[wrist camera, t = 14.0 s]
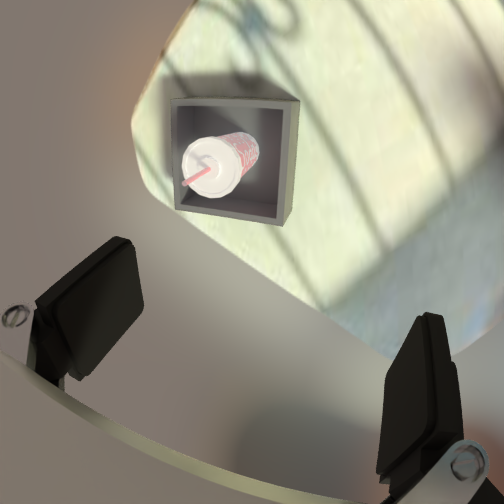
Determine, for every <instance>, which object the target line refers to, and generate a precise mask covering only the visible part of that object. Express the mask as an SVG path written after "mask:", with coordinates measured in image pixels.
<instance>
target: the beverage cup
mask: <svg viewBox="0 0 504 504" xmlns="http://www.w3.org/2000/svg"><path fill="white" fill-rule="evenodd" d="M258 156H259V146H258V143H257V142H256V140H255V138H253V137H252V136H251V135H249V134H247V133H244V132H237V133H231V134H227V135H223V136H218V137H214V136H211V137H205V138H200V139H198V140H196V141H195V142H193V143H192V144H190V145H189V146H188V148H187V150H186V151H185V153H184V155H183V160H182V170H183V175H184V178H185V180H184V181H183V182H182V185H183V186H187V185H189V186H190V188H192V189H193V190H194V191H195V192H197V193H198V194H199V195H202V196H205V197H208V198H221V197H223V196H225V195H226V194H228V193H230V192H231V191H232V190H233V189H234V188H235V187H236V185H237V184H238V183H239V181H240V178H241V177H242V176H243V175H244V174H245V173H246V172H247V171H248V170H249V169H250V168H251V167H252V166H253V165H254V163H255V162H256V161H257V160H258Z"/></svg>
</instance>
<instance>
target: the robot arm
mask: <svg viewBox="0 0 504 504" xmlns="http://www.w3.org/2000/svg"><path fill="white" fill-rule="evenodd" d="M35 303H36V305H37V309H36V310H34V309H33V307H32V305H30V304H29V303H27V302H17V303H13V304H11V305H9V306H8V307H6V308H5V309H4V310H3V311H2V312H1V314H0V504H366V503H359V502H352V501H346V500H340V499H335V498H329V497H324V496H319V495H314V494H310V493H305V492H301V491H297V490H292V489H288V488H284V487H280V486H276V485H272V484H268V483H265V482H261V481H257V480H255V479H251V478H248V477H245V476H242V475H238V474H235V473H232V472H229V471H226V470H223V469H220V468H218V467H215V466H212V465H209V464H207V463H204V462H201V461H199V460H196V459H194V458H191V457H188V456H186V455H183V454H181V453H179V452H176V451H174V450H172V449H170V448H167V447H165V446H163V445H160V444H158V443H156V442H154V441H152V440H150V439H148V438H145V437H143V436H141V435H139V434H137V433H135V432H133V431H131V430H129V429H127V428H125V427H124V426H122V425H120V424H118V423H116V422H114V421H112V420H110V419H109V418H107V417H105V416H103V415H101V414H100V413H98V412H96V411H94V410H93V409H91V408H89V407H88V406H86V405H84V404H83V403H81V402H79V401H77V400H76V399H75V398H73V397H71V396H70V395H68V394H67V393H65V387H64V386H65V381H64V379H65V378H64V377H65V374H66V373H67V372H68V373H69V375H70V376H71V377H73V378H75V379H76V380H78V381H81V380H82V379H83V378H84V377H85V376H88V375H89V374H91V372H92V371H93V370H94V369H95V368H96V366H97V365H98V364H99V363H100V362H101V360H102V359H103V358H104V357H105V355H106V354H107V353H108V352H109V351H110V350H111V348H112V347H113V346H114V345H115V344H116V342H117V341H118V340H119V339H120V338H121V336H122V335H123V334H124V333H125V332H126V330H128V328H129V327H130V326H131V325H132V324H133V322H134V321H135V320H136V319H137V318H138V317H139V316H140V314H141V313H142V311H143V308H144V301H143V296H142V290H141V284H140V278H139V272H138V265H137V258H136V251H135V247H134V245H132V242H131V241H130V240H129V239H125V238H121V237H118V236H115V237H112V238H111V239H110V240H109V241H108V242H106V243H105V244H103V245H102V246H101V247H100V248H98V249H97V250H96V251H94V252H93V253H92V254H91V255H89V256H88V257H87V258H85V259H84V260H83V261H82V262H81V263H79V264H78V265H77V266H76V267H74V268H73V269H72V270H71V271H69V272H68V273H67V274H66V275H65V276H63V277H62V278H61V279H60V280H59V281H57V282H56V283H55V284H54V285H53V286H51V287H50V288H49V289H48V290H47V291H46V292H45V293H43V294H42V295H41V296H40V297H39V298H38V299H36V300H35ZM488 471H489V458H488V455H487V453H486V451H485V450H484V449H483V447H482V446H481V445H480V444H478V443H477V442H475V441H472V440H464V433H463V419H462V408H461V399H460V390H459V382H458V375H457V368H456V365H455V363H454V362H452V361H451V356H450V349H449V344H448V338H447V333H446V327H445V322H444V318H443V316H442V315H438V314H433V313H429V312H425V313H424V314H423V315H422V316H417V318H416V319H415V321H414V323H413V325H412V327H411V329H410V331H409V333H408V335H407V337H406V339H405V341H404V343H403V345H402V347H401V348H400V350H399V352H398V354H397V356H396V358H395V359H394V361H393V363H392V365H391V367H390V368H389V370H388V372H387V374H386V378H385V385H384V402H383V415H382V425H381V434H380V444H379V451H378V460H377V467H376V473H377V474H379V475H380V481H379V483H381V484H390V487H389V493H390V495H389V496H388V497H387V498H386V499H385V500H383V501H382V502H381V503H380V504H504V496H503V495H502V494H501V493H500V492H499V491H498V489H497V488H496V487H495V486H494V485H493V484H492V483H491V482H490V481H489V479H488V478H487V477H486V476H487V474H488Z"/></svg>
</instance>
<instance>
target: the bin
mask: <svg viewBox="0 0 504 504" xmlns="http://www.w3.org/2000/svg"><path fill="white" fill-rule="evenodd" d="M299 111H300V101H293V100H281V99H267V98H247V97H186V98H178V99H171V136H172V164H173V185H174V202H175V210H182V211H188V212H195V213H202V214H208V215H215V216H221V217H228V218H234V219H240V220H246V221H253V222H259V223H265V224H271V225H277V226H283V225H284V224H285V222H286V220H287V218H288V216H289V215H290V213H291V211H292V202H293V191H294V179H295V166H296V154H297V140H298V126H299ZM237 132H244V133H247V134H249V135H251V136H252V137H253V138H255V140H256V142H257V143H258V146H259V156H258V160H257V161H256V162H255V163H254V165H253V166H252V167H251V168H250V169H249V170H248V171H247V172H246V173H245V174H244V175H243V176H242V177H241V178H240V181H239V183H238V184H237V185H236V187H235V188H234V189H233V190H232V191H231V192H230V193H228V194H226V195H225V196H223V197H221V198H208V197H205V196H202V195H199V194H198V193H197V192H195V191H194V190H193V189H192V188H190V186H189V185H187V186H183V185H182V182H183V181H184V180H185V178H184V175H183V170H182V160H183V155H184V153H185V151H186V150H187V148H188V146H189V145H190V144H192V143H193V142H195V141H196V140H198V139H200V138H205V137H211V136H214V137H218V136H223V135H227V134H231V133H237Z"/></svg>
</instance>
